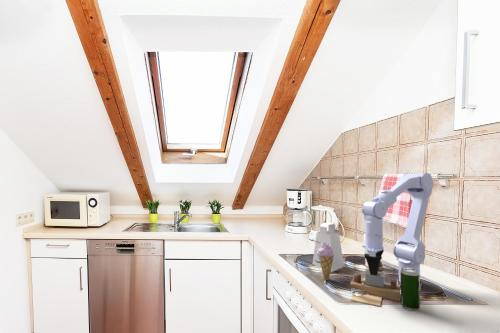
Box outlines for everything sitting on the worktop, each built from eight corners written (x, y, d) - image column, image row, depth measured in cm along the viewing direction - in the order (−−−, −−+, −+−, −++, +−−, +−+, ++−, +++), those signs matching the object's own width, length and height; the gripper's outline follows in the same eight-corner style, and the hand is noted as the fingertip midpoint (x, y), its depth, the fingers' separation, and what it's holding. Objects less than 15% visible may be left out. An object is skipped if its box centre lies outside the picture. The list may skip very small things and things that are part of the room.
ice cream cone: (323, 283, 109) (323, 245, 109) (314, 278, 114) (313, 241, 115) (337, 280, 112) (336, 243, 112) (326, 275, 117) (326, 240, 118)
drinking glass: (367, 263, 133) (367, 232, 134) (382, 267, 128) (381, 234, 129) (361, 266, 128) (360, 234, 129) (376, 270, 124) (375, 236, 124)
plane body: (353, 285, 107) (353, 271, 107) (400, 293, 99) (399, 278, 100) (350, 291, 101) (350, 276, 101) (399, 301, 93) (399, 285, 93)
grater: (312, 266, 130) (311, 223, 130) (324, 261, 137) (324, 221, 137) (332, 271, 122) (331, 226, 123) (344, 266, 129) (343, 223, 130)
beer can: (404, 310, 87) (404, 272, 87) (398, 302, 92) (397, 266, 93) (423, 311, 86) (422, 273, 87) (415, 303, 92) (415, 267, 92)
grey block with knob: (366, 280, 104) (366, 268, 104) (384, 283, 101) (384, 271, 101) (365, 284, 100) (365, 272, 100) (383, 288, 97) (383, 274, 97)
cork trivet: (354, 293, 100) (354, 291, 100) (381, 298, 95) (381, 297, 96) (351, 300, 94) (351, 299, 94) (380, 306, 89) (380, 305, 89)
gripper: (364, 229, 109) (365, 264, 109) (359, 236, 97) (360, 275, 96) (384, 231, 106) (385, 267, 105) (381, 239, 93) (382, 279, 93)
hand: (374, 271), depth 100 cm, fingers open, 7 cm apart
